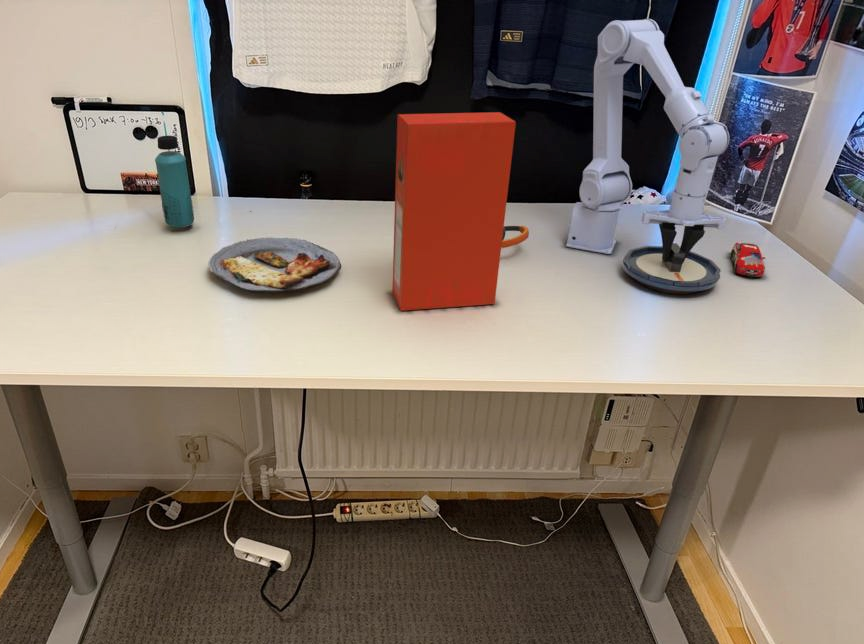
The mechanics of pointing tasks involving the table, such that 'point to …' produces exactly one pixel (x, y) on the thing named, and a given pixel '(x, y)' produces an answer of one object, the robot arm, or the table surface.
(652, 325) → the table surface
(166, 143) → the beverage bottle
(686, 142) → the robot arm
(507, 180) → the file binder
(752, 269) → the race car
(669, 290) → the turntable base
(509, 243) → the headphones
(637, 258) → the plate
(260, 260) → the food plate
